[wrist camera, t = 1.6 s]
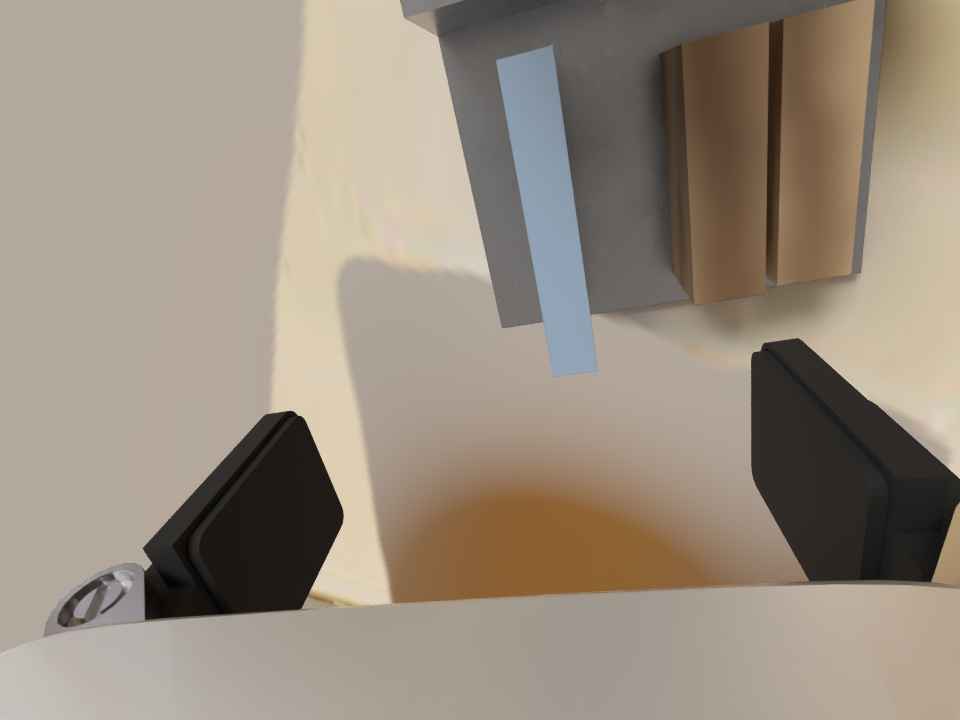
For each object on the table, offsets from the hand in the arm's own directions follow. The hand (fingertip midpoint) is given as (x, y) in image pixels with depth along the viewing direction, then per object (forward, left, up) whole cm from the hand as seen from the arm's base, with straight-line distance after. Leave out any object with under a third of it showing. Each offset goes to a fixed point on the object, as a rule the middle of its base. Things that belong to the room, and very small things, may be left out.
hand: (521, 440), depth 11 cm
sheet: (-1, 0, -28) cm, 28 cm away
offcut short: (-15, 0, -28) cm, 32 cm away
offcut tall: (-10, 0, -28) cm, 30 cm away
